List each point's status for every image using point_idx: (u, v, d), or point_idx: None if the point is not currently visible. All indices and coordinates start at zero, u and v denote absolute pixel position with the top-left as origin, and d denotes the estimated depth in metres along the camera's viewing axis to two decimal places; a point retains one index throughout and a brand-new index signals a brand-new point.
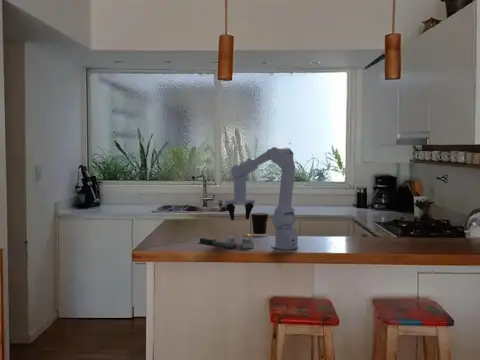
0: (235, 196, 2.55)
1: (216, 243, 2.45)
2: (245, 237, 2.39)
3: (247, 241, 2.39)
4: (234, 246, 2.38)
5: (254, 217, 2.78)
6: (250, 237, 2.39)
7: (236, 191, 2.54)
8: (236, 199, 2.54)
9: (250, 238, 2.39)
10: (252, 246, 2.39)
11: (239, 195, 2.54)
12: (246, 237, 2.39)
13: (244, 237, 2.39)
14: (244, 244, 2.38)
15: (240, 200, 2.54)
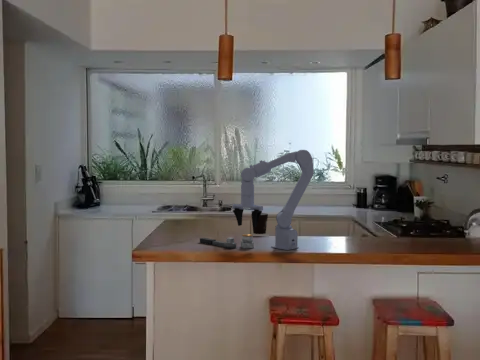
0: None
1: (216, 243, 2.45)
2: (245, 237, 2.39)
3: (247, 241, 2.39)
4: (234, 246, 2.38)
5: None
6: (250, 237, 2.39)
7: (241, 195, 2.40)
8: (241, 204, 2.40)
9: (250, 238, 2.39)
10: (252, 246, 2.39)
11: (242, 200, 2.38)
12: (246, 237, 2.39)
13: (244, 237, 2.39)
14: (244, 244, 2.38)
15: (242, 205, 2.38)
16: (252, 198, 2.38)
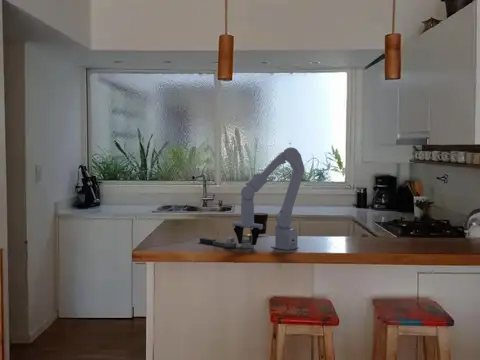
0: None
1: (216, 243, 2.45)
2: (245, 237, 2.39)
3: (247, 241, 2.39)
4: (234, 246, 2.38)
5: (254, 217, 2.78)
6: (250, 237, 2.39)
7: (241, 213, 2.40)
8: (241, 222, 2.40)
9: (250, 238, 2.39)
10: (252, 246, 2.39)
11: (241, 218, 2.39)
12: (246, 237, 2.39)
13: (244, 237, 2.39)
14: (244, 244, 2.38)
15: (242, 223, 2.39)
16: (252, 216, 2.39)
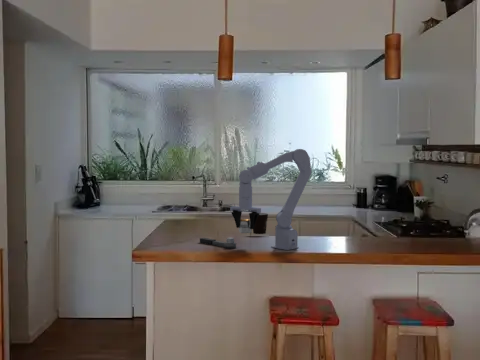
0: None
1: (216, 243, 2.45)
2: (243, 222, 2.38)
3: (245, 226, 2.38)
4: (234, 246, 2.38)
5: None
6: (248, 222, 2.38)
7: (239, 197, 2.40)
8: (239, 206, 2.40)
9: (248, 223, 2.39)
10: (250, 231, 2.39)
11: (240, 202, 2.38)
12: (244, 222, 2.38)
13: (242, 222, 2.38)
14: (242, 229, 2.38)
15: (240, 207, 2.38)
16: (250, 200, 2.38)
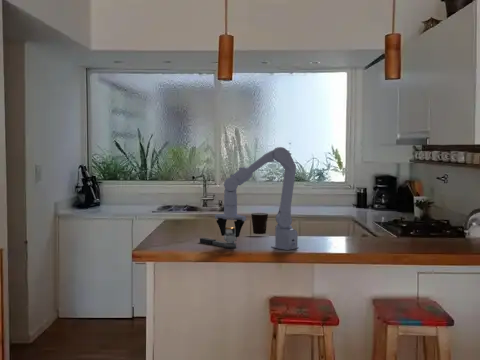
0: None
1: (216, 243, 2.45)
2: (228, 230, 2.38)
3: (230, 234, 2.38)
4: (234, 246, 2.38)
5: (254, 217, 2.78)
6: (233, 230, 2.38)
7: (224, 205, 2.39)
8: (224, 214, 2.39)
9: (233, 231, 2.38)
10: (235, 239, 2.38)
11: (225, 210, 2.38)
12: (228, 230, 2.38)
13: (227, 230, 2.38)
14: (227, 237, 2.37)
15: (225, 215, 2.37)
16: (235, 208, 2.37)
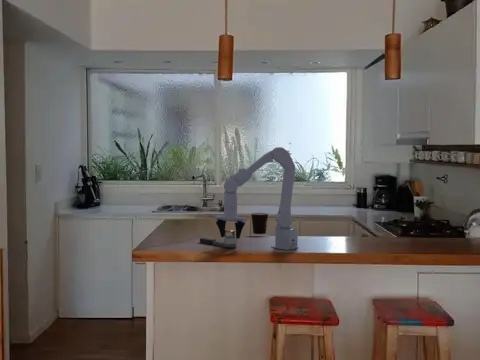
0: None
1: (216, 243, 2.45)
2: (228, 233, 2.38)
3: (230, 237, 2.38)
4: (234, 246, 2.38)
5: (254, 217, 2.78)
6: (233, 233, 2.38)
7: (224, 207, 2.39)
8: (224, 215, 2.39)
9: (233, 234, 2.38)
10: (235, 242, 2.38)
11: (225, 211, 2.38)
12: (228, 233, 2.38)
13: (227, 233, 2.38)
14: (227, 240, 2.37)
15: (225, 217, 2.37)
16: (235, 210, 2.37)
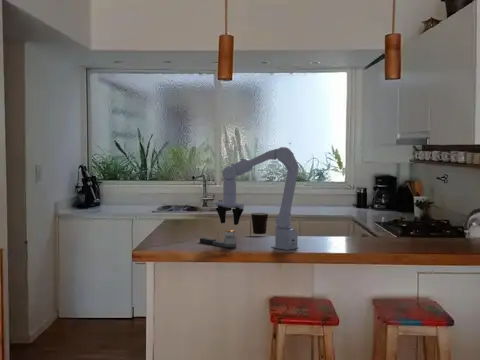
0: None
1: (216, 243, 2.45)
2: (228, 233, 2.38)
3: (230, 237, 2.38)
4: (234, 246, 2.38)
5: (254, 217, 2.78)
6: (233, 233, 2.38)
7: (223, 193, 2.43)
8: (223, 201, 2.43)
9: (233, 234, 2.38)
10: (235, 242, 2.38)
11: (223, 197, 2.42)
12: (228, 233, 2.38)
13: (227, 233, 2.38)
14: (227, 240, 2.37)
15: (224, 203, 2.42)
16: (233, 196, 2.41)
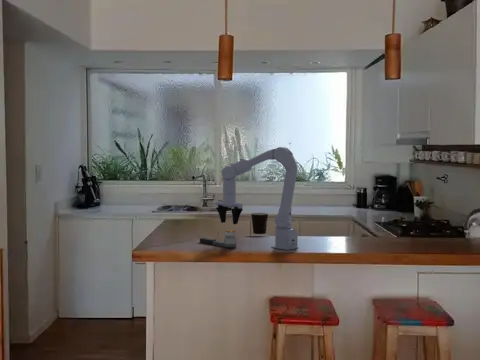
0: None
1: (216, 243, 2.45)
2: (228, 233, 2.38)
3: (230, 237, 2.38)
4: (234, 246, 2.38)
5: (254, 217, 2.78)
6: (233, 233, 2.38)
7: None
8: None
9: (233, 234, 2.38)
10: (235, 242, 2.38)
11: (223, 197, 2.44)
12: (228, 233, 2.38)
13: (227, 233, 2.38)
14: (227, 240, 2.37)
15: (223, 202, 2.44)
16: (233, 196, 2.43)
